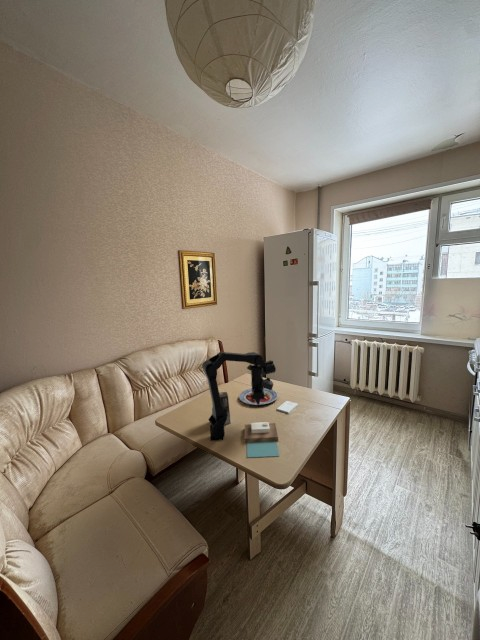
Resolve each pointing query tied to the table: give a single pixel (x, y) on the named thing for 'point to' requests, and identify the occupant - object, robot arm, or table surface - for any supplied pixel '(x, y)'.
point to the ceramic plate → (269, 397)
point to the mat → (262, 449)
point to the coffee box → (225, 404)
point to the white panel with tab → (260, 427)
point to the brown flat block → (261, 434)
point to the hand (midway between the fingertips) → (258, 404)
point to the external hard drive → (287, 407)
